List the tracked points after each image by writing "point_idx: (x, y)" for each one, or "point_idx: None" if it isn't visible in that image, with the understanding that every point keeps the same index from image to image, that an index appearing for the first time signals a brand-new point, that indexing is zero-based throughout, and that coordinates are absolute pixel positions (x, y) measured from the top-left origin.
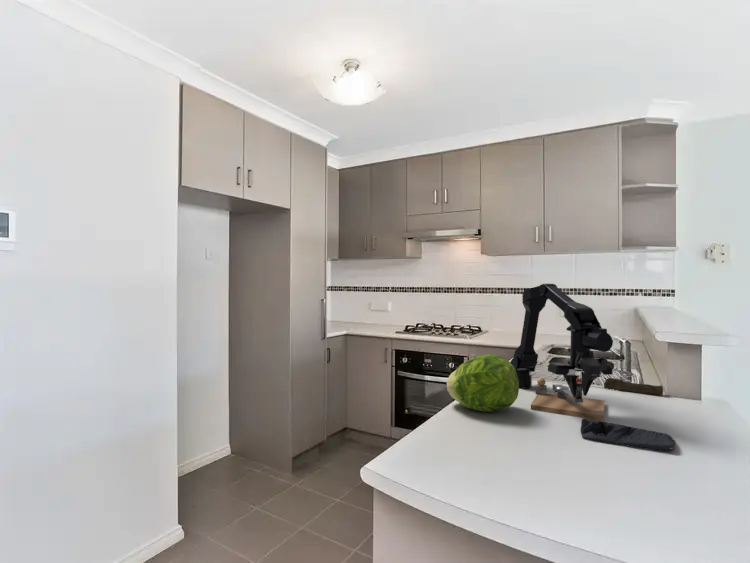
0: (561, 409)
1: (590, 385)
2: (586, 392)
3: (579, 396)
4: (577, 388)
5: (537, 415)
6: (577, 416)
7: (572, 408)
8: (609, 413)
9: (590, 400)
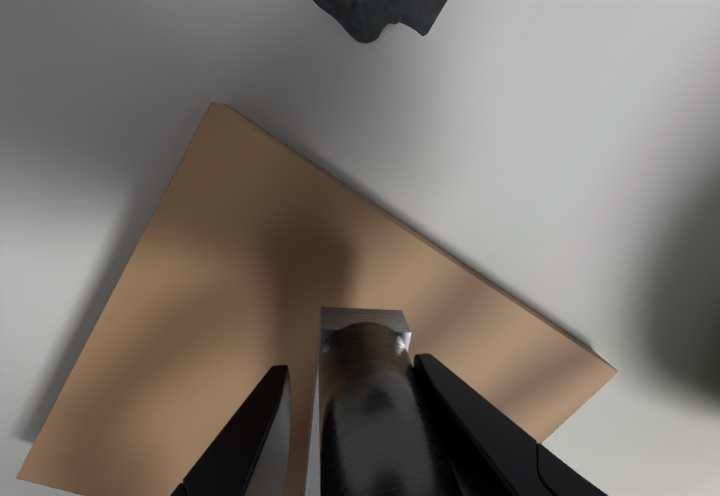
0: (484, 284)
1: (177, 491)
2: (269, 390)
3: (372, 339)
4: (422, 425)
5: (637, 248)
6: (389, 214)
7: (388, 302)
8: (81, 278)
9: (139, 469)
